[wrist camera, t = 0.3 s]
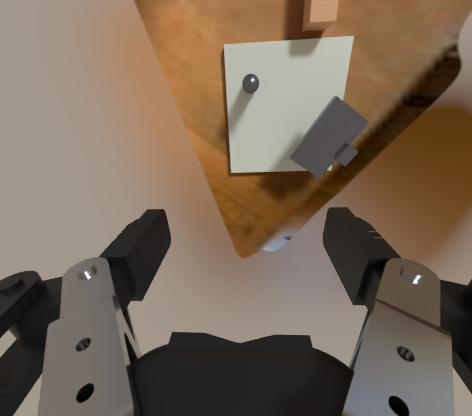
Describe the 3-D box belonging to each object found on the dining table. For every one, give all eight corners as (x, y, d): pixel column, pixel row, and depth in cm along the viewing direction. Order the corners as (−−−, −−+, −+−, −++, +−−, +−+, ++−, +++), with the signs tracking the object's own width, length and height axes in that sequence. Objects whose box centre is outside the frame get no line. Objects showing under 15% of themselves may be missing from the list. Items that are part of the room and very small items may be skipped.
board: (224, 46, 30) (223, 44, 29) (350, 37, 28) (353, 35, 28) (231, 171, 38) (231, 172, 37) (329, 168, 37) (331, 170, 36)
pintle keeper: (243, 78, 31) (242, 74, 25) (354, 72, 30) (382, 66, 24) (245, 166, 37) (244, 180, 31) (337, 164, 36) (356, 177, 30)
